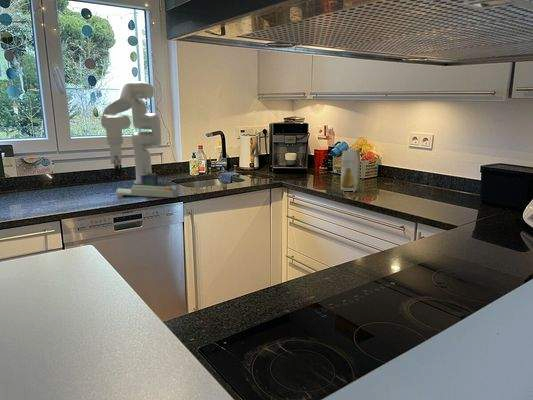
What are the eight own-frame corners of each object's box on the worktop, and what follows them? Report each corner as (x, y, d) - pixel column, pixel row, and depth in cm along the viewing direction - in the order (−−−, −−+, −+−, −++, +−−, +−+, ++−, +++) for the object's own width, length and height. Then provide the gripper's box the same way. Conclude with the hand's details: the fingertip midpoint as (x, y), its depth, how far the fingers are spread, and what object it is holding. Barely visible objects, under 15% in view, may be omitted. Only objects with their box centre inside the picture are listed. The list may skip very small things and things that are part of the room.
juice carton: (339, 191, 228) (340, 148, 223) (343, 189, 235) (345, 147, 230) (355, 193, 224) (357, 149, 219) (359, 190, 230) (361, 148, 225)
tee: (103, 199, 211) (103, 196, 211) (109, 198, 212) (108, 195, 212) (103, 200, 209) (103, 197, 209) (108, 199, 210) (108, 196, 209)
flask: (141, 190, 232) (140, 172, 229) (141, 189, 234) (140, 171, 232) (158, 189, 234) (157, 171, 232) (157, 188, 237) (156, 170, 235)
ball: (167, 193, 221) (162, 188, 219) (173, 189, 221) (168, 183, 220) (167, 195, 217) (162, 189, 216) (173, 190, 217) (168, 185, 216)
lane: (118, 196, 217) (117, 185, 216) (175, 193, 225) (174, 182, 224) (116, 201, 207) (115, 189, 206) (176, 197, 215) (176, 186, 214)
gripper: (108, 139, 213) (111, 171, 217) (105, 143, 197) (109, 178, 201) (123, 138, 215) (126, 170, 219) (122, 143, 199) (125, 177, 203)
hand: (118, 174), depth 210 cm, fingers open, 9 cm apart
